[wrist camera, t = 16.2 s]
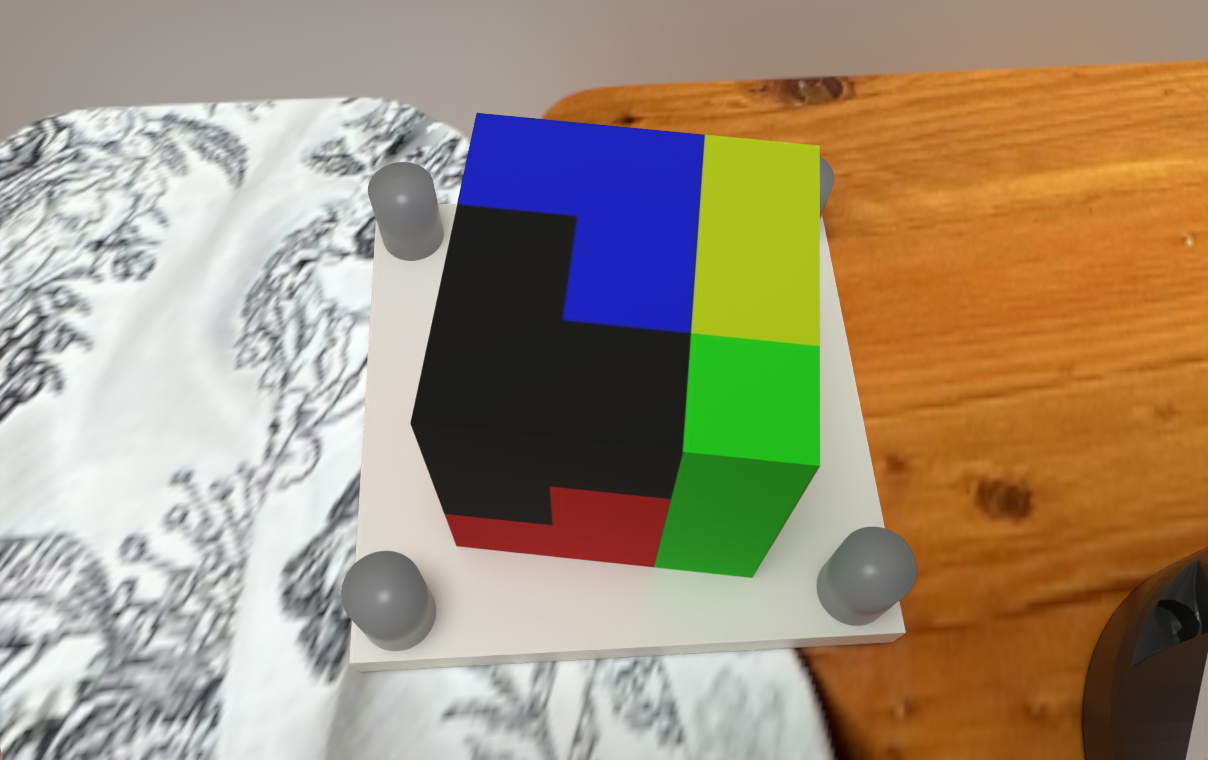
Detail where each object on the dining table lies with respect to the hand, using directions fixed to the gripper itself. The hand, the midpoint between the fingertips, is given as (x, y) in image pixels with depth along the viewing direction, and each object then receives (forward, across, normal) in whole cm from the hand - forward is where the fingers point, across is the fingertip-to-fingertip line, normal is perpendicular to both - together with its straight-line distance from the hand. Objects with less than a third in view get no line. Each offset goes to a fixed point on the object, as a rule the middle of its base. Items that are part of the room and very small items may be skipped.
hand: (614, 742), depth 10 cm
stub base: (+25, +1, -5) cm, 26 cm away
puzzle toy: (+24, +2, -5) cm, 24 cm away
